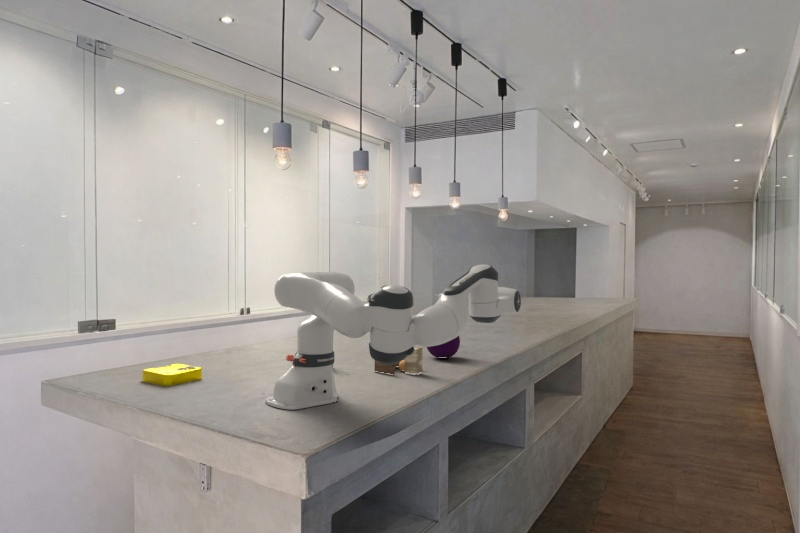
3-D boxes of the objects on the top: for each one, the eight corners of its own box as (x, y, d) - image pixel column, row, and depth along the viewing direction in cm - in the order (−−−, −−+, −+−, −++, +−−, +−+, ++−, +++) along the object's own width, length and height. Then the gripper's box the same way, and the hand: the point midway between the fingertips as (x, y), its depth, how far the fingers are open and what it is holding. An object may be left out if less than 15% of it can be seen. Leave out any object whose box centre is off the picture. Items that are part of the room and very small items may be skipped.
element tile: (177, 374, 199) (177, 361, 199) (204, 379, 191) (204, 366, 191) (139, 382, 186) (139, 368, 186) (166, 388, 179) (166, 373, 178)
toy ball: (421, 360, 229) (421, 325, 229) (429, 354, 243) (430, 321, 243) (456, 362, 225) (456, 327, 224) (462, 356, 239) (463, 323, 239)
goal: (392, 375, 199) (392, 359, 199) (374, 372, 205) (374, 356, 205) (418, 369, 211) (418, 354, 210) (400, 366, 216) (400, 351, 216)
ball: (399, 357, 208) (394, 367, 206) (407, 358, 204) (402, 369, 203) (406, 361, 210) (401, 372, 209) (414, 363, 207) (410, 374, 206)
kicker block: (414, 376, 199) (415, 349, 199) (404, 374, 202) (404, 347, 202) (422, 374, 202) (422, 347, 202) (412, 372, 206) (412, 346, 205)
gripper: (459, 309, 176) (426, 307, 185) (492, 306, 192) (459, 303, 201) (459, 290, 176) (426, 288, 185) (492, 288, 191) (459, 286, 200)
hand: (444, 296), depth 193 cm, fingers open, 8 cm apart
